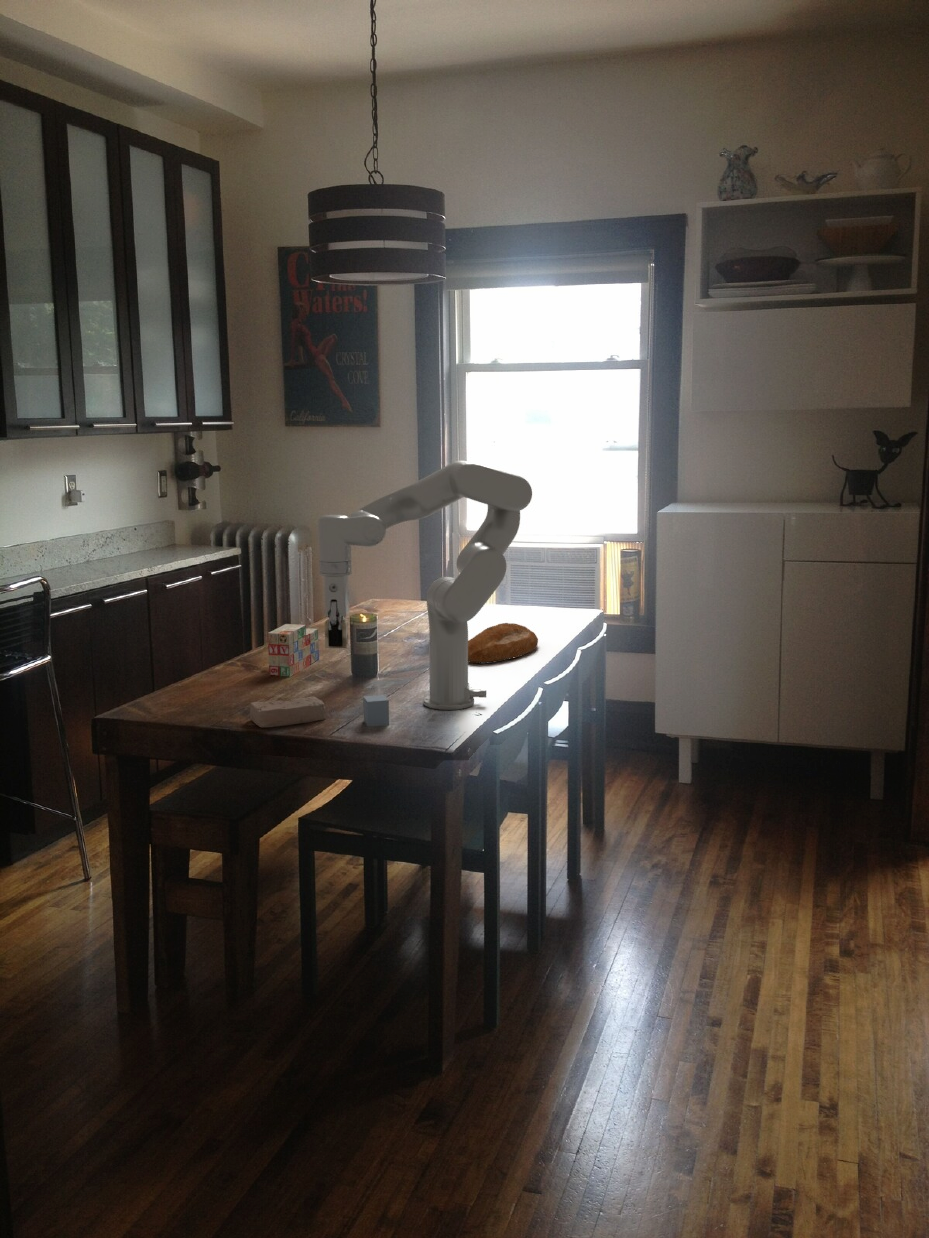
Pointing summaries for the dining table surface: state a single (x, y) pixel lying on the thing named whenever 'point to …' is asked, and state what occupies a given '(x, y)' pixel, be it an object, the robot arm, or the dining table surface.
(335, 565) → the robot arm
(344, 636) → the beech block
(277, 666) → the stack of blocks
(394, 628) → the dining table surface
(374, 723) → the slate block
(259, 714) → the brick
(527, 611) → the dining table surface
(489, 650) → the bread
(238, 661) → the dining table surface
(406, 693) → the dining table surface
